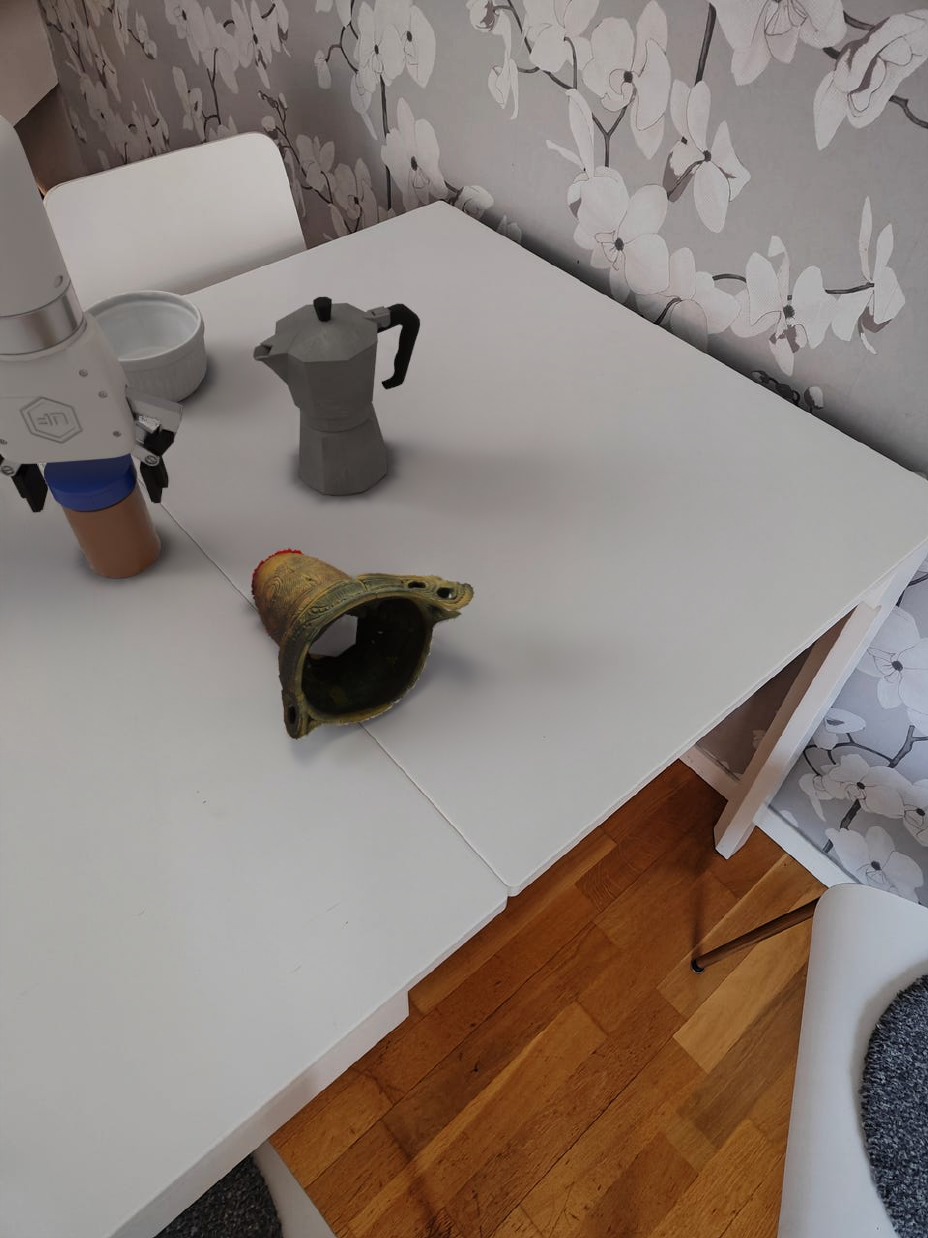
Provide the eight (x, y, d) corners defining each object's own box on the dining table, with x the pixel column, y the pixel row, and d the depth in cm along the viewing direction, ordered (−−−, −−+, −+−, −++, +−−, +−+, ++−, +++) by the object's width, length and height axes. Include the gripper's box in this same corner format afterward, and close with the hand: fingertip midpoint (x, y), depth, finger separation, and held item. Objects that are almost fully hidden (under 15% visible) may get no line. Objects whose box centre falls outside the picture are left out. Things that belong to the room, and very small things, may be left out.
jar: (82, 581, 76) (42, 500, 69) (93, 529, 80) (56, 448, 73) (157, 575, 77) (125, 494, 69) (164, 524, 81) (134, 442, 73)
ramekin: (239, 363, 97) (227, 306, 91) (166, 431, 89) (148, 373, 84) (143, 334, 100) (125, 278, 95) (65, 397, 93) (41, 340, 87)
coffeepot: (297, 516, 81) (265, 348, 68) (263, 457, 87) (227, 291, 73) (444, 466, 86) (442, 300, 72) (403, 414, 91) (394, 249, 77)
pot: (329, 464, 73) (444, 537, 59) (395, 553, 80) (510, 635, 67) (171, 605, 70) (255, 714, 57) (255, 683, 77) (346, 795, 64)
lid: (139, 503, 70) (132, 485, 69) (50, 518, 69) (42, 500, 68) (136, 449, 75) (130, 431, 73) (52, 462, 73) (44, 445, 72)
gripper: (-126, 351, 57) (-17, 536, 70) (145, 335, 58) (202, 519, 72) (-94, 290, 62) (3, 474, 75) (156, 276, 63) (207, 460, 76)
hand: (100, 496), depth 73 cm, fingers open, 9 cm apart
